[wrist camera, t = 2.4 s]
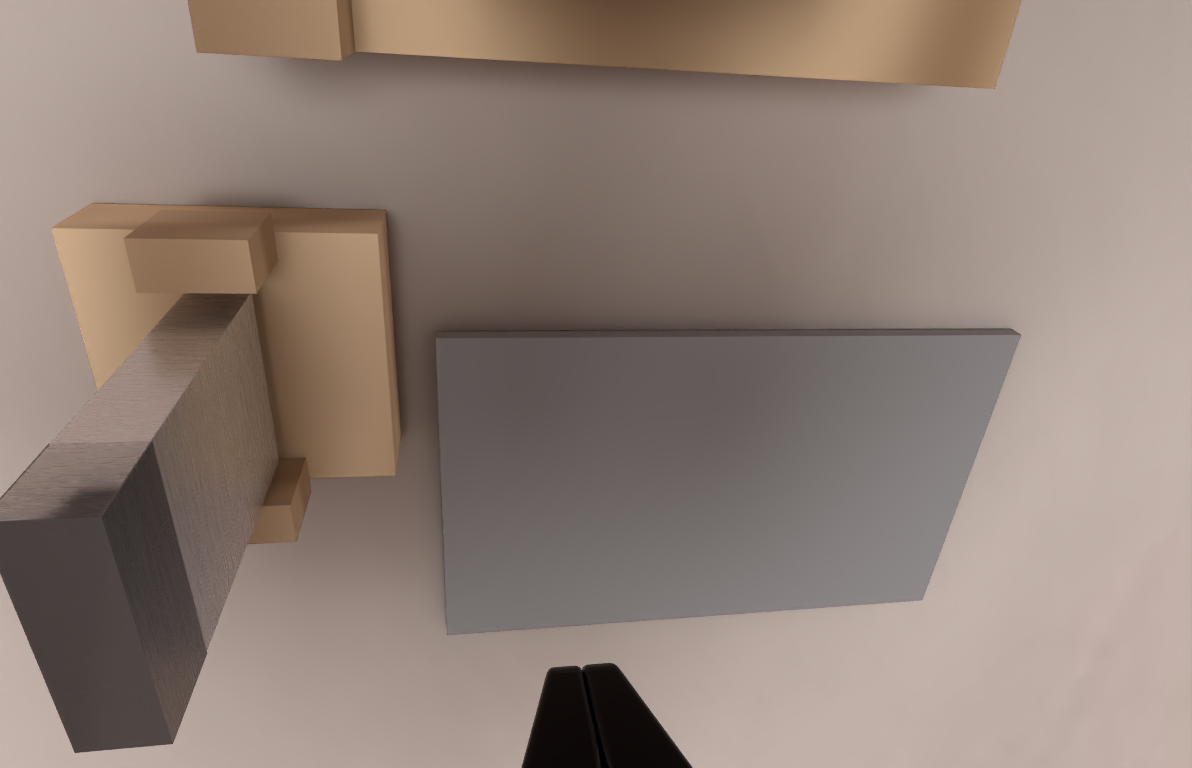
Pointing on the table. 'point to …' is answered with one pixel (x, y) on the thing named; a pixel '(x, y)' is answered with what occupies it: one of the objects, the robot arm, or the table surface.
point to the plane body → (638, 34)
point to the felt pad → (702, 468)
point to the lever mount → (259, 321)
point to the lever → (143, 524)
